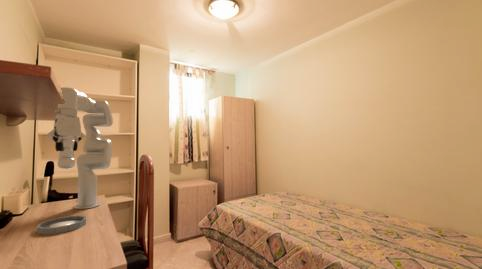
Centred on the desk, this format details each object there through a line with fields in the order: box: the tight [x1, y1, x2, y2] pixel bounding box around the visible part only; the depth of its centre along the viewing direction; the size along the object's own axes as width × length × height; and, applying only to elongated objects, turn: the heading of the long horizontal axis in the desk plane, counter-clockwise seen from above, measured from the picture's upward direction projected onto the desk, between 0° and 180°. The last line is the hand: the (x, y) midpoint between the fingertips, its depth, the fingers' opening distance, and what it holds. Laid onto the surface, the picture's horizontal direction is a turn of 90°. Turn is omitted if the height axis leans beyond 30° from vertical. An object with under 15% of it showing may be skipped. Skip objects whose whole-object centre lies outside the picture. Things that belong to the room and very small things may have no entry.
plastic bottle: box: [57, 135, 76, 169], centre depth 110 cm, size 6×7×20 cm
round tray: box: [36, 215, 87, 236], centre depth 102 cm, size 17×17×2 cm
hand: (66, 150), depth 109 cm, fingers closed on plastic bottle, 6 cm apart
